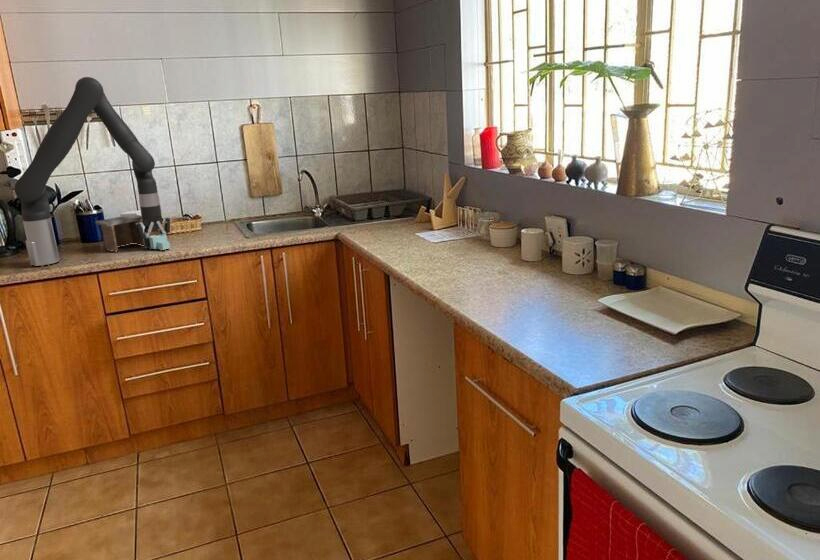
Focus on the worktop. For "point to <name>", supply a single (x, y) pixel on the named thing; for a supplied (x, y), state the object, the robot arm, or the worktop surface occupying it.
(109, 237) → the shelf
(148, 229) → the robot arm
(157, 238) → the caddy
